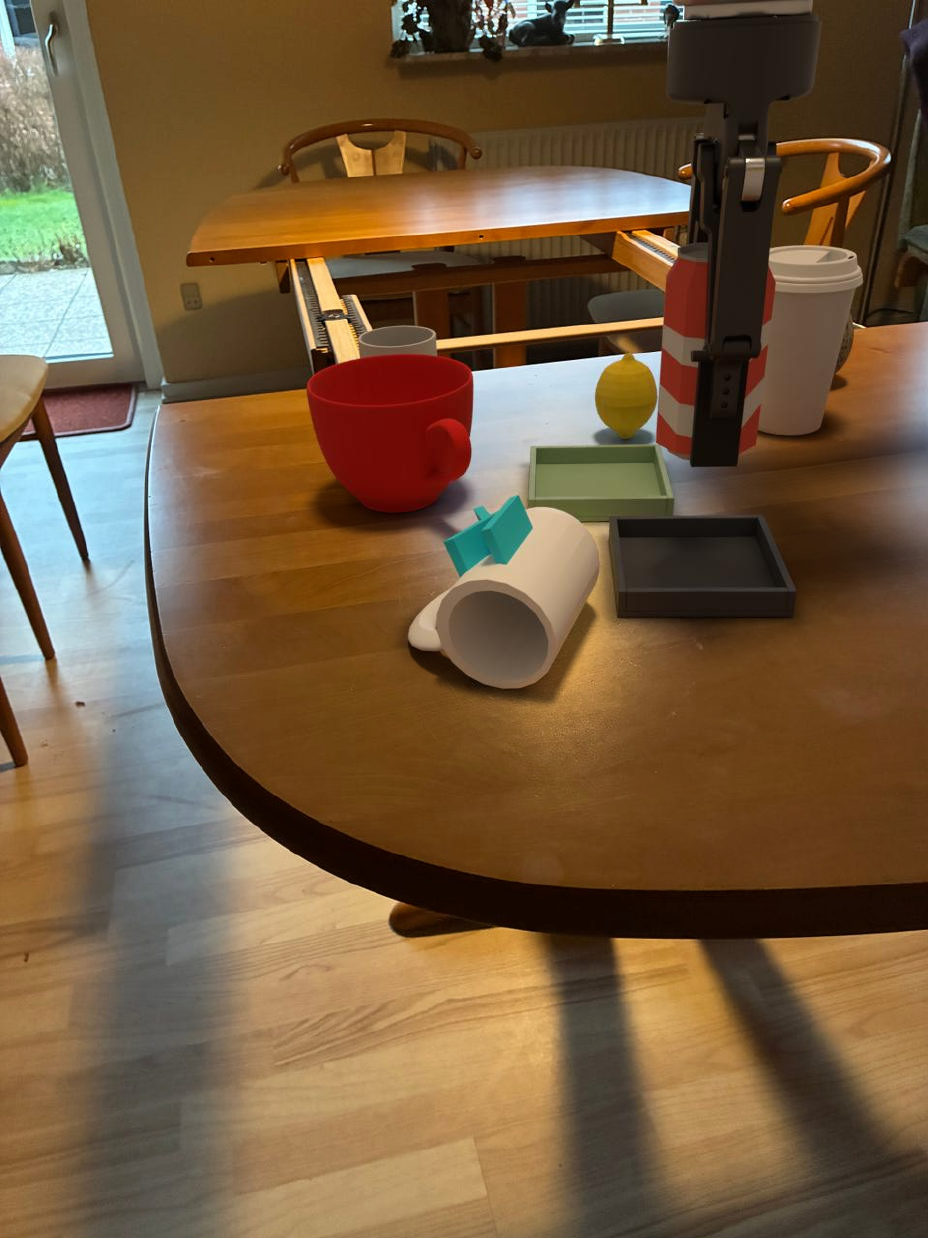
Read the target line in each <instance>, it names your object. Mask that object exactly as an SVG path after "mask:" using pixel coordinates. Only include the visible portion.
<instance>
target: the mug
mask: <svg viewBox="0 0 928 1238" xmlns="http://www.w3.org/2000/svg"><path fill="white" fill-rule="evenodd" d="M472 509H473V512H474V514H475V516H476V518H477V522H474V523H473V524H471V525H469V526H468V527H466V528H464V529H463V530H461V531H459V532H458V533H456V534H454V535H452V536H451V537H449V538H448V539H445V540H444V541H443V542H442V543H443V545H444V548H445V549H446V551H447V553H448V555H449V557H450V559H451V562H452V563H453V565H454V568H455V571H456V572H457V574H458V578H457V580H456V581H455V582H454V584H453V585H452V586H451V587H450V588H449V589H447V590H445V591H443V592H442V593H440V594H439V595H438V596H437V597H435V598H434V599H433V600H431V601H430V602H428V603H427V605H426V606H425V607H424V608H422V610H421V611H420V612H419V613H418V614H417V615H416V616H415V617H414V619H413V621H412V622H411V625H410V626H409V628H408V635H407V640H408V642H409V644H410V646H412V647H414V648H416V649H418V650H419V651H424V652H425V651H426V652H440V651H441V652H442V651H444V653H446V655H447V657H448V658H449V659H450V661H451V662H452V663H453V664H454V665H455V667H457V668H458V669H459V670H460V671H462V672H463V673H464V674H465V675H466V676H467V677H470V678H472V679H473V680H475V681H477V682H479V683H481V684H483V685H486V686H490V687H493V688H498V689H505V690H506V689H522V688H524V687H528V686H530V685H533V684H535V683H537V682H538V681H539V680H540V679H541V678H543V677H544V676H545V675H547V673H549V671H550V669H551V667H552V665H553V664H554V662H555V660H556V659H557V656H558V654H559V652H560V651H561V649H562V647H563V645H564V644H565V642H566V640H567V638H568V637H569V634H570V633H571V630H572V628H573V627H574V625H575V623H576V622H577V619H578V618H579V616H580V614H581V612H582V610H583V608H584V607H585V605H586V603H587V601H588V599H589V597H590V595H591V593H593V590H594V588H595V586H596V584H597V582H598V578H599V575H600V567H601V564H600V561H601V560H600V555H599V549H598V547H597V543H596V541H595V539H594V537H593V535H592V534H591V532H590V530H589V529H588V528H587V527H586V526H585V525H584V524H583V523H582V521H579V520H577V519H576V518H574V517H573V516H572V515H570V514H568V513H566V512H564V511H561V510H558V509H554V508H548V507H534V508H529V509H528V508H525V506H524V504H523V501H522V499H521V497H520V494H516V495H513V496H510V497H508V499H507V500H506V501H505V503H504V504H503V505H502V506H501V507H500V508H499V510H497V511H495V512H493V513H489V511H488V510H487V509H486V508H485V507H484V506H483V505H480V506H478V507H474V508H472Z"/></svg>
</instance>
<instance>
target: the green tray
mask: <svg viewBox="0 0 928 1238" xmlns="http://www.w3.org/2000/svg"><path fill="white" fill-rule="evenodd" d="M529 452H530V453H529V474H528V497H527V509H529V508H534V507H548V508H554V509H558V510H561V511H564V512H566V513H568V514H570V515H572V516H573V517H574V518H576V519H577V520H579V521H580V522H609V519H610V516H616V517H617V516H674V506H675V496H674V493H673V489H672V484H671V480H670V477H669V473H668V469H667V466H666V461H665V458H664V455H663V451H662V446H661V445H659V444H657V443H648V444H647V443H645V444H643V443H642V444H641V443H639V444H637V443H636V444H581V445H579V444H578V445H577V444H576V445H571V444H570V445H531V446H530V451H529Z"/></svg>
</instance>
